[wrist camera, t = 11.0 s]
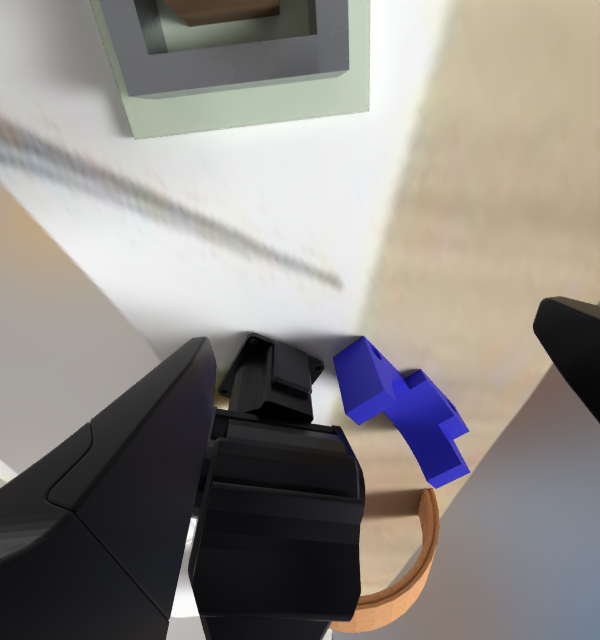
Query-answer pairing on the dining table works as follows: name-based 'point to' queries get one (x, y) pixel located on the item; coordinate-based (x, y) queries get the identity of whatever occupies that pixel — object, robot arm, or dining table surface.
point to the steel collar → (223, 53)
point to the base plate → (251, 102)
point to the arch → (405, 592)
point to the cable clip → (403, 409)
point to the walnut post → (222, 10)
